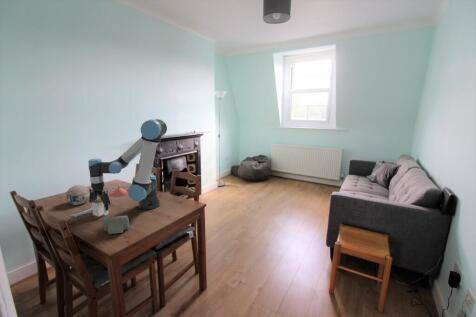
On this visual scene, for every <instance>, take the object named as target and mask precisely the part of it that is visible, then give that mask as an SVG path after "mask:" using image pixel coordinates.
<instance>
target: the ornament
mask: <svg viewBox="0 0 476 317" xmlns="http://www.w3.org/2000/svg"><path fill="white" fill-rule="evenodd" d="M89 196H90V191H89V188H88V187H87V186H85V185H82V184H75V185H73V186H71V187H69V188H68V189H67V191H66V194H65V198H66V200H67V202H68V203H69V204H70V205H72V206H80V205H84V204H86V203H87V202H89Z"/></svg>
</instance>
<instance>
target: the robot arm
mask: <svg viewBox="0 0 476 317" xmlns="http://www.w3.org/2000/svg"><path fill="white" fill-rule="evenodd" d="M167 130H168V126H167V123H166V122H164V121H163V119H158V118H157V119H147V120H145V121H144V122H143V123H141V125H140V134H141V137H139V139H138V140H137V141H135V142H134V143H133V144H132V145H131V146H130V147H129V148H128V149H126V150H125V152H123V153H122V154H121V155H120V156H119V157H118V158H116V159H115V160H111V161H103V160H102V159H101V158H92V159H89V160H88V170H89V180H90V189H89V188H88V189H89V191H90V196H89V200H88V202H89V203H91V205H92V201H94V200H97V199H98V197H99V199H100V198H101V200H102V202H103V204H104V206H103V207H104V214H103V215H104V216H107V215H109V212H108V210H110V209H109V205H112V204H111V200H110V196H109V194H108V190H107V189H106V190H105V188H104V187H105V180H104V174H109V175H110V174H112V175H113V174H114V175H115V174H120V173H121V172H122V169H126V168H127V167H128V166H129V164H130V163H131V162H133V160H135V159H136V158H137V157H138V156H139V155H140V156H139V160H138V166H137V168H136V174H135V176H134V177H133V178H132V181H131V185H130V186H129V187H128V189H127V191H128V194H127V195H128V197H129V198H130V199H131V200H133V201H135V202H138V204H137V205H138V206H137V207H138V209H140V210H145V211H146V210H152V209H156V208H159V207H160V206H161V200H160V198H159V196H158V189H157V187H158V186H157V178H156V175H154V174H152V170H153V166H154V161H155V156H156V152H157V148H158V147H157V146H158V145H159V144H161V141H162V137H163V136H164V135H165V134H166V133H167Z"/></svg>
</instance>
